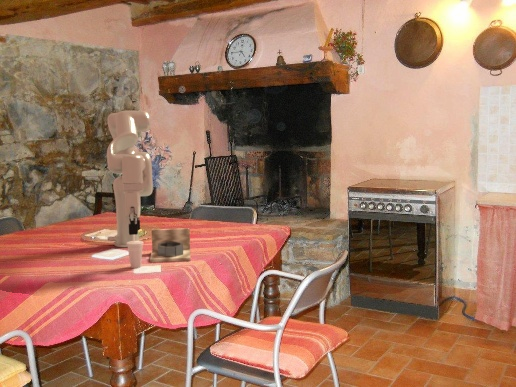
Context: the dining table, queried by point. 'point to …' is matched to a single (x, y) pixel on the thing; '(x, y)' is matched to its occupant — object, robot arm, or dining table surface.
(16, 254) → the dining table surface
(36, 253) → the dining table surface
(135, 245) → the smoothie
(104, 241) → the dining table surface
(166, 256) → the holder
